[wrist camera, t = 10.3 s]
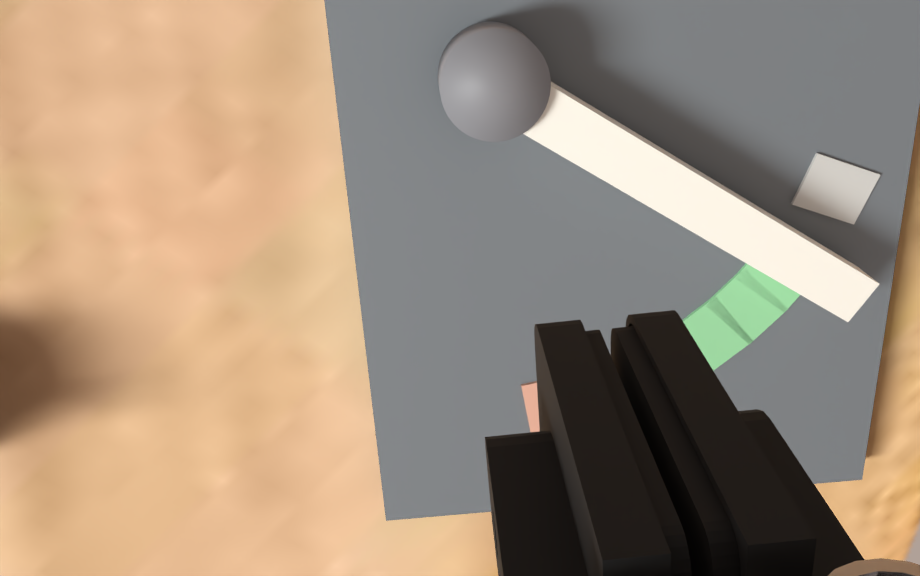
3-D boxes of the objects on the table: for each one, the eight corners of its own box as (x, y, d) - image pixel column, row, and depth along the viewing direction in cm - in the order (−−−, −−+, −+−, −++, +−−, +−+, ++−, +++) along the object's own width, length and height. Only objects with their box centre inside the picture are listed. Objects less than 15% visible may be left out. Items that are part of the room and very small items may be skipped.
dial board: (321, -55, 33) (317, -54, 31) (928, -97, 33) (952, -97, 32) (386, 501, 43) (386, 522, 42) (847, 461, 44) (863, 481, 42)
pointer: (418, 95, 33) (419, 108, 31) (471, 0, 32) (476, 7, 30) (812, 320, 38) (837, 345, 36) (871, 246, 37) (901, 267, 35)
